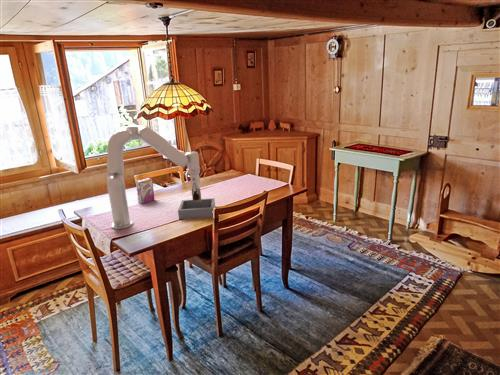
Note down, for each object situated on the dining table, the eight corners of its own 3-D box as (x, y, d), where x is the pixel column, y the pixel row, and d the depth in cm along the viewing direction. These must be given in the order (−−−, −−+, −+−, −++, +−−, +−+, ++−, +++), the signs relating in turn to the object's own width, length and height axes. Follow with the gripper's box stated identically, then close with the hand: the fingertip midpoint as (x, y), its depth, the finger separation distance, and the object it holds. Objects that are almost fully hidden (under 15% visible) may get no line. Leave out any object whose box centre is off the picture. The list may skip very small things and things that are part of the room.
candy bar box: (142, 204, 259) (139, 182, 255) (138, 202, 262) (135, 181, 258) (155, 199, 267) (152, 178, 263) (151, 198, 271) (148, 177, 266)
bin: (213, 217, 228) (213, 208, 226) (178, 219, 227) (177, 210, 225) (215, 206, 247) (214, 198, 245) (182, 208, 246) (182, 200, 244)
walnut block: (200, 201, 232) (199, 188, 230) (192, 202, 232) (191, 189, 229) (201, 199, 237) (199, 186, 234) (193, 199, 237) (192, 186, 234)
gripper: (198, 174, 221) (201, 202, 226) (200, 167, 237) (203, 193, 242) (186, 174, 220) (189, 203, 226) (189, 168, 237) (192, 194, 242)
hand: (196, 197), depth 234 cm, fingers closed on walnut block, 5 cm apart
